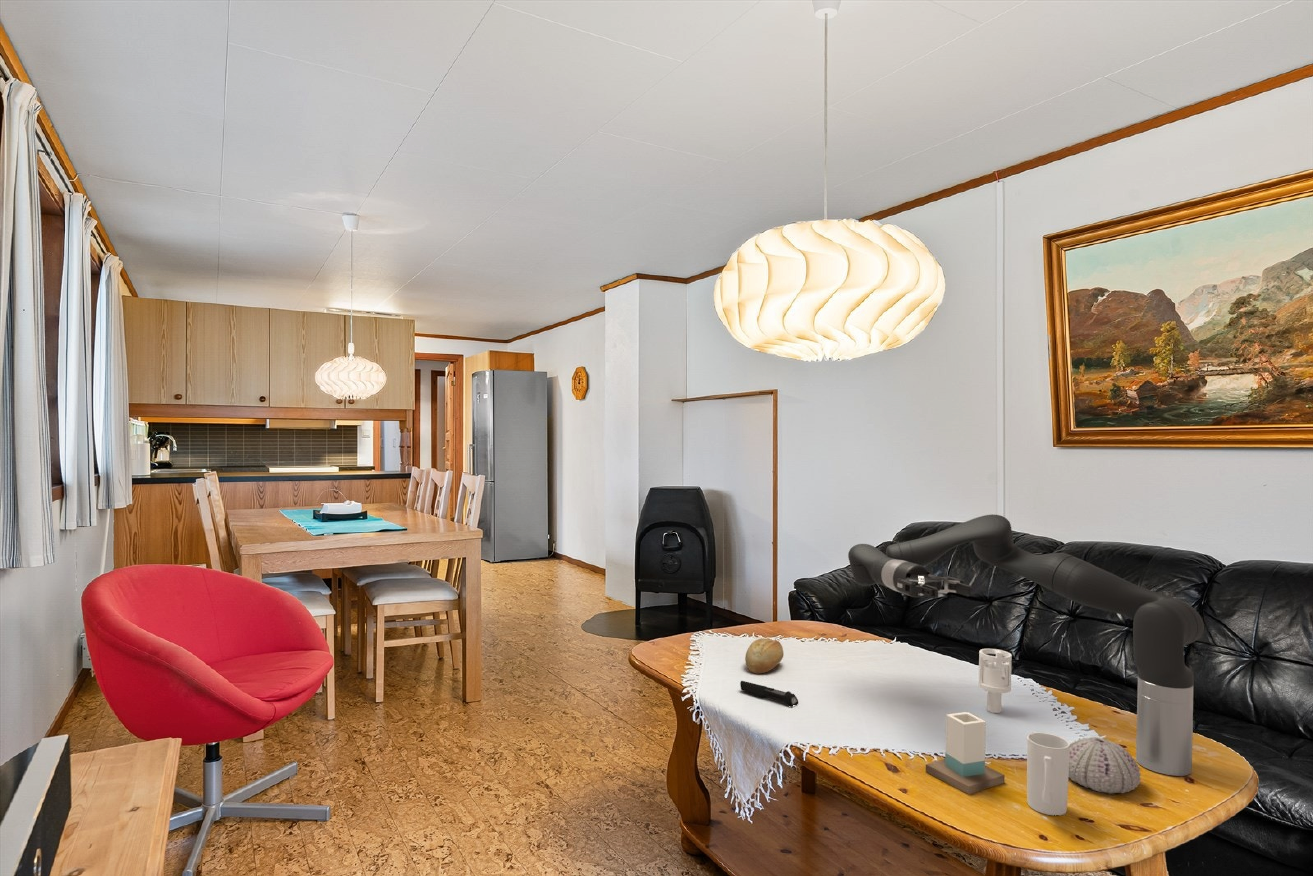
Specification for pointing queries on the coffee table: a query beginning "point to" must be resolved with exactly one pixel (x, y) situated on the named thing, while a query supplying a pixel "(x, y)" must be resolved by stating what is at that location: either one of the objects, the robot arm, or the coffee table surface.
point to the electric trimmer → (769, 693)
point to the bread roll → (763, 655)
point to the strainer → (994, 676)
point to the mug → (1047, 773)
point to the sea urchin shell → (1102, 766)
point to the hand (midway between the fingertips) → (953, 592)
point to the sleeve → (965, 744)
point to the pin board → (965, 783)
